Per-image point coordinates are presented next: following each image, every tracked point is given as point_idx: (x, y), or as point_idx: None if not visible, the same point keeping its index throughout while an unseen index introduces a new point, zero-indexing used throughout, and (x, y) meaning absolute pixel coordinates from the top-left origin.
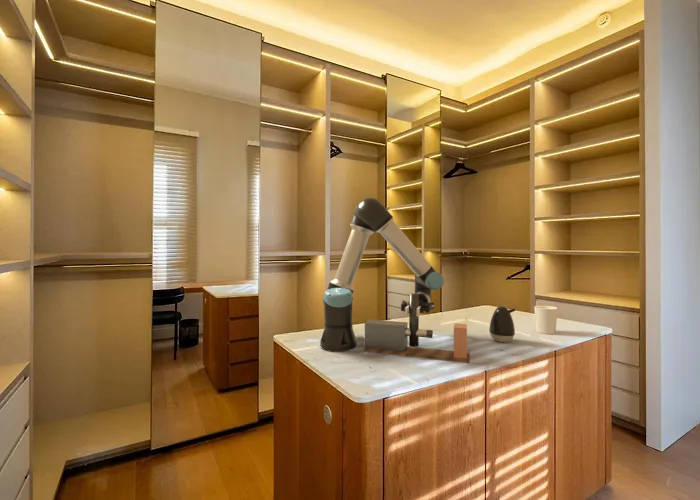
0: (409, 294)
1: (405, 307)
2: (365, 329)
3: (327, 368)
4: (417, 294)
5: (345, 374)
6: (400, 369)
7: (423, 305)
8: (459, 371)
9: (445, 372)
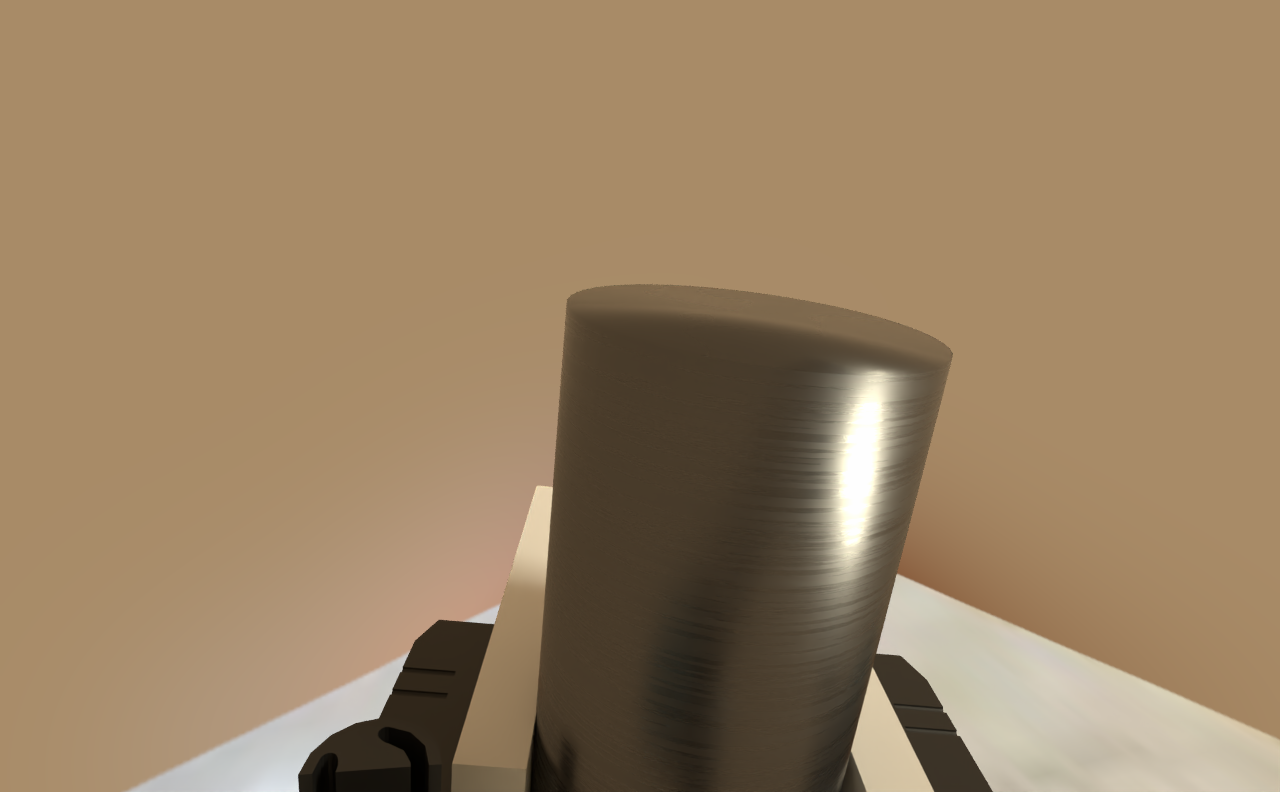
0: (887, 329)
1: (923, 731)
2: None
3: (1044, 662)
4: (610, 295)
5: (896, 618)
6: None
7: (346, 761)
8: (161, 775)
9: (303, 735)
